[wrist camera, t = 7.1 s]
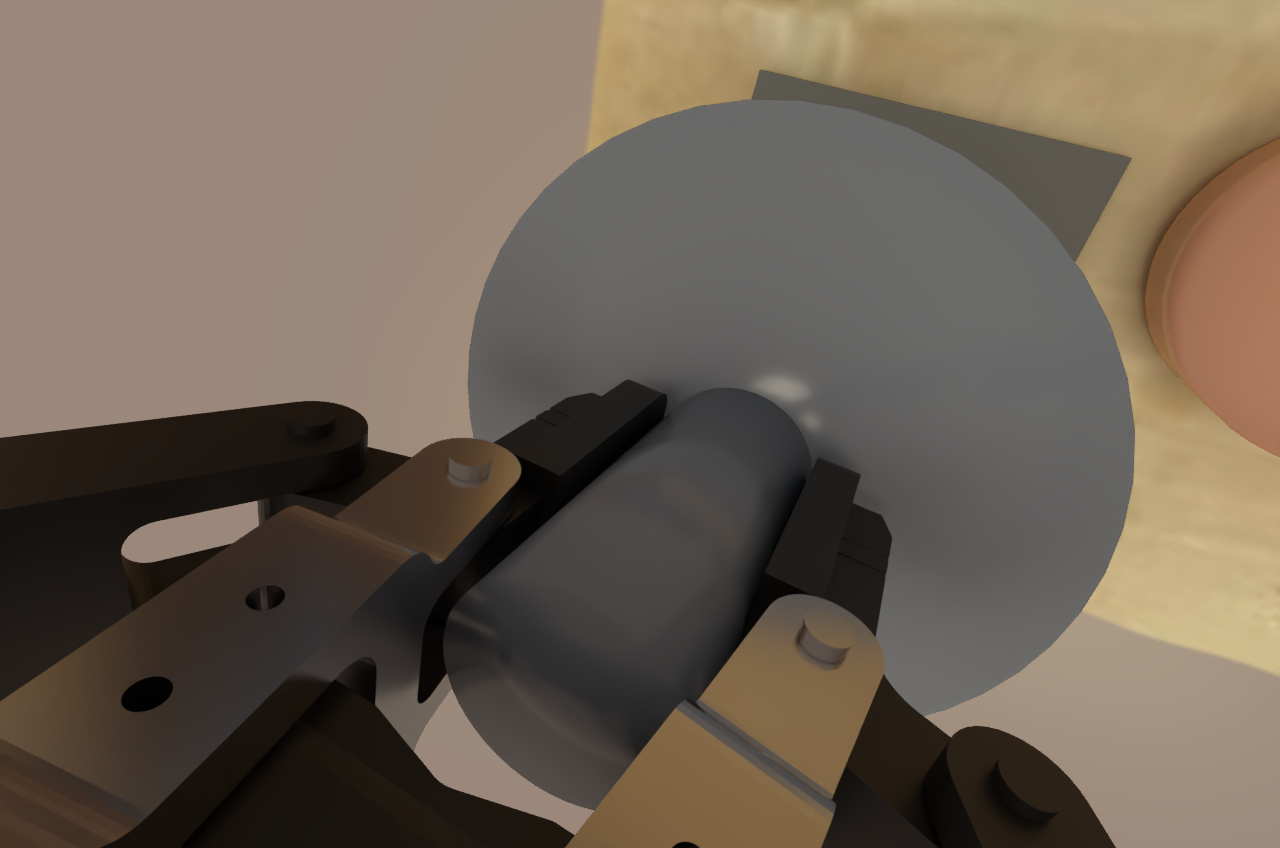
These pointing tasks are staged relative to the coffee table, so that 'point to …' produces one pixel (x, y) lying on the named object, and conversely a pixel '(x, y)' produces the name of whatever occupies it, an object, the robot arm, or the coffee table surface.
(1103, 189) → the mat
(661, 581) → the lid
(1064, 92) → the coffee table surface
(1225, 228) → the pink short cylinder
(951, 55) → the coffee table surface
